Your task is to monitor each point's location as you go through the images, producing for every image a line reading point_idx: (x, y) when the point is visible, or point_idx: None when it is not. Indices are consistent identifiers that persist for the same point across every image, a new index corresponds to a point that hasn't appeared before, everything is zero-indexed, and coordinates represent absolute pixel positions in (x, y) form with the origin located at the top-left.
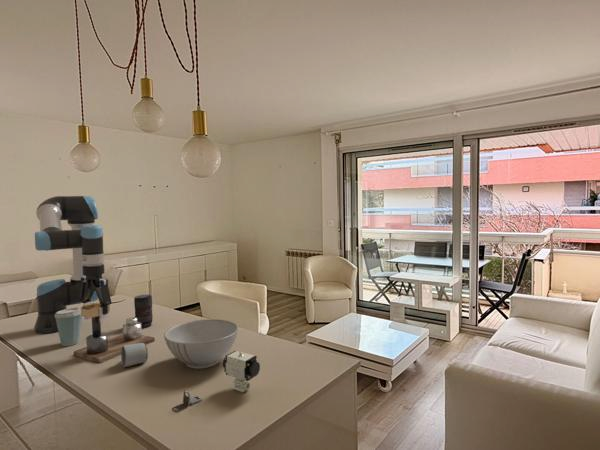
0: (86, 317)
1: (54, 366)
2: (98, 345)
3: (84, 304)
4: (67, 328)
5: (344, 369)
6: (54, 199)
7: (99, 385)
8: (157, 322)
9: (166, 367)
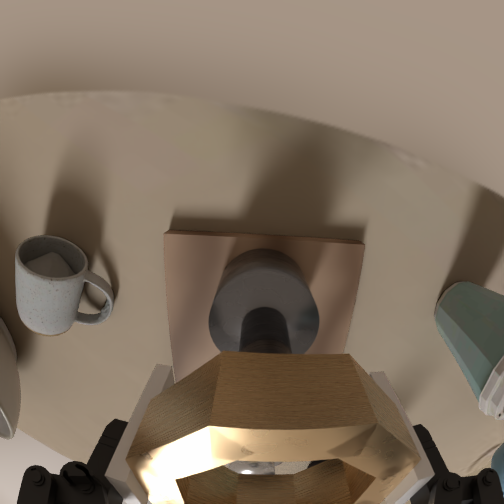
0: None
1: (324, 129)
2: (219, 285)
3: (421, 472)
4: (483, 317)
5: None
6: None
7: (37, 126)
8: None
9: (5, 285)
